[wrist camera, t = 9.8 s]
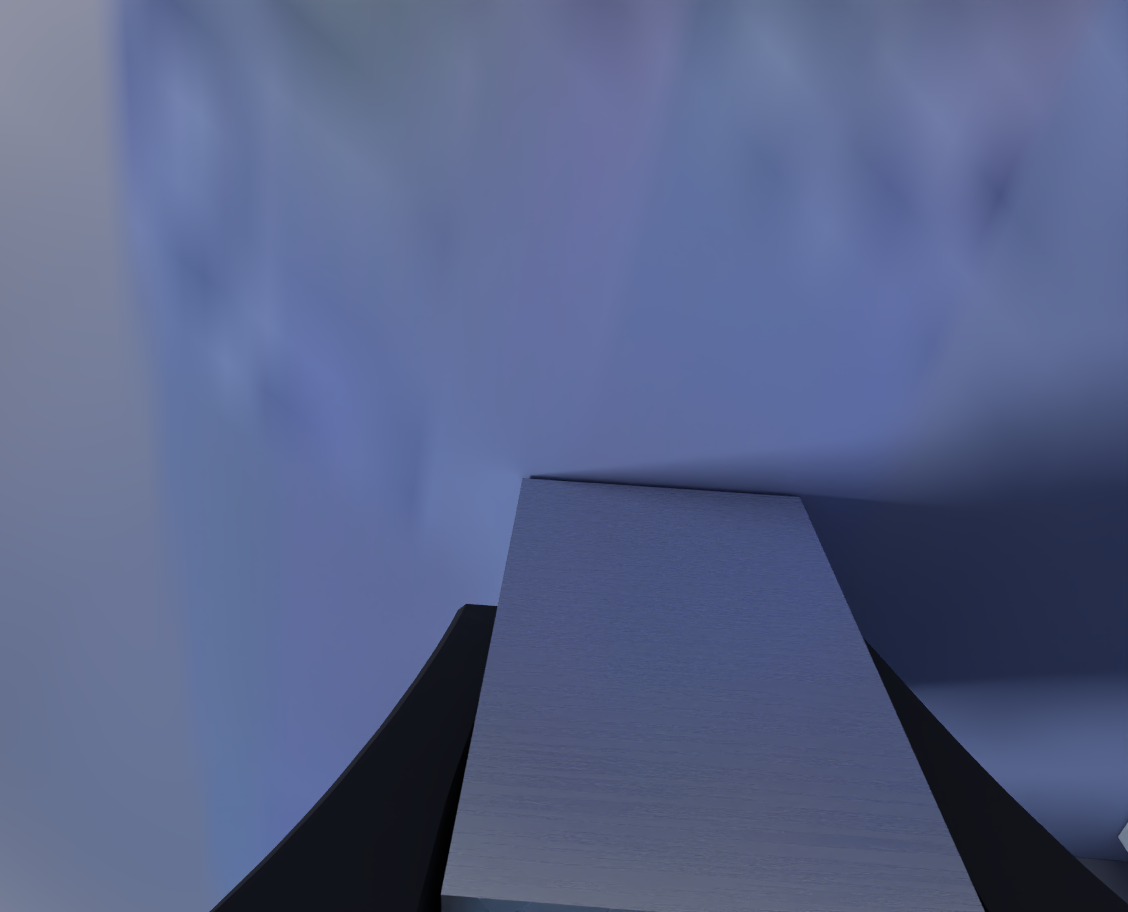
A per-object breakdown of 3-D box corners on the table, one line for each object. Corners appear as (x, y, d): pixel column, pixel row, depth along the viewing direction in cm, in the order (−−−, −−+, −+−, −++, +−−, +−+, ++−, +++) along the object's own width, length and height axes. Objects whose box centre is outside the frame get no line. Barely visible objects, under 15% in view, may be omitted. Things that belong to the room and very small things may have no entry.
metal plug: (751, 696, 12) (866, 1195, 7) (517, 679, 12) (450, 1159, 7) (799, 497, 10) (1009, 967, 5) (522, 478, 11) (435, 922, 5)
